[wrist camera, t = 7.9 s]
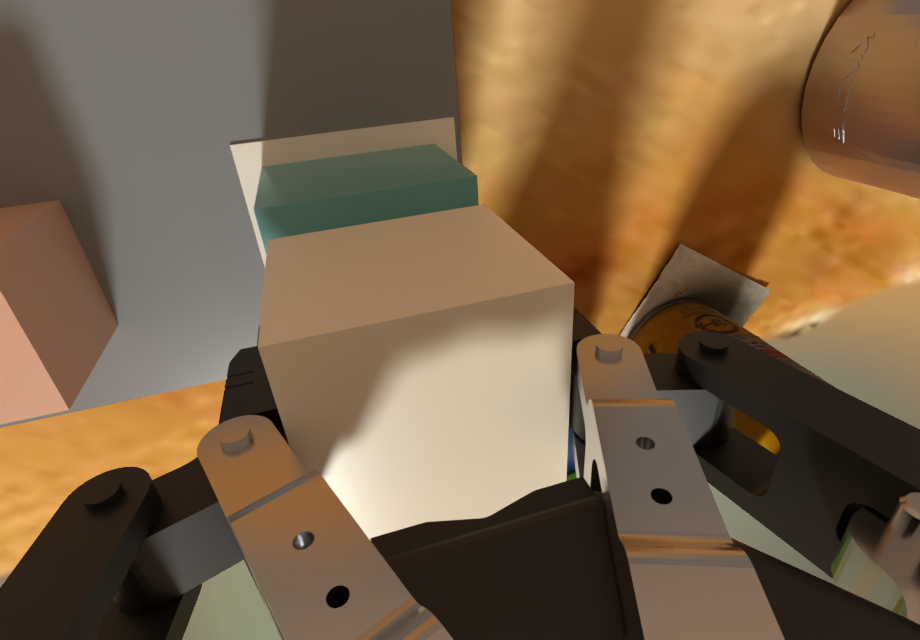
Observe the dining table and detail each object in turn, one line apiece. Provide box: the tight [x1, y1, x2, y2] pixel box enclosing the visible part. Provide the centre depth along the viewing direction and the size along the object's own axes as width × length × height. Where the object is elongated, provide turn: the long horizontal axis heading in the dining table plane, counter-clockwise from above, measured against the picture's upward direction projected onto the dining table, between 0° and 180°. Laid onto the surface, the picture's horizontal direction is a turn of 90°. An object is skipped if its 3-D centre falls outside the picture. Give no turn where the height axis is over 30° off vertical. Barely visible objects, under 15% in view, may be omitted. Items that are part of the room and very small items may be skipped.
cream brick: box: [258, 204, 575, 541], centre depth 12 cm, size 5×5×5 cm
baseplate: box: [0, 0, 462, 428], centre depth 18 cm, size 18×15×1 cm
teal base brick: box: [254, 144, 479, 253], centre depth 18 cm, size 6×6×5 cm
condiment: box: [620, 244, 834, 457], centre depth 24 cm, size 7×8×12 cm
